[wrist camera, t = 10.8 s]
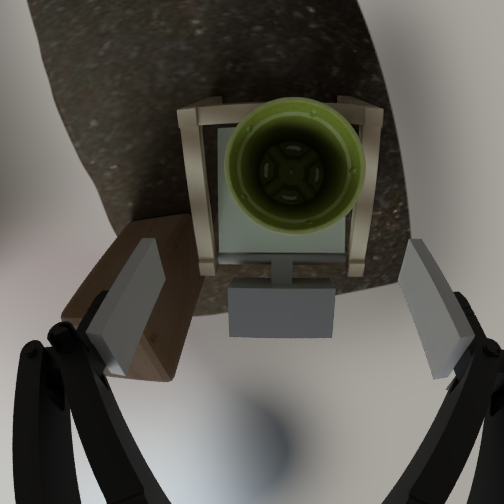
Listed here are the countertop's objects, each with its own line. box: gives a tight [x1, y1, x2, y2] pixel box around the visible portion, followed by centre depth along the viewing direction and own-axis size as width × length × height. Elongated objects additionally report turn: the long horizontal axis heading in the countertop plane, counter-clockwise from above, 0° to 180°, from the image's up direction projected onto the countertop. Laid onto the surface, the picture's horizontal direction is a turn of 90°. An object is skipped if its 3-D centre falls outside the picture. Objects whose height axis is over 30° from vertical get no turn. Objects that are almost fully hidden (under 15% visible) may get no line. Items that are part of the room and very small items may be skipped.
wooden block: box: [61, 213, 205, 382], centre depth 35 cm, size 10×10×20 cm
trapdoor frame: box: [177, 95, 383, 277], centre depth 30 cm, size 16×16×12 cm
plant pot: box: [224, 97, 366, 235], centre depth 23 cm, size 9×9×9 cm
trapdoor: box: [218, 127, 346, 338], centre depth 29 cm, size 20×12×4 cm, turn 2°
